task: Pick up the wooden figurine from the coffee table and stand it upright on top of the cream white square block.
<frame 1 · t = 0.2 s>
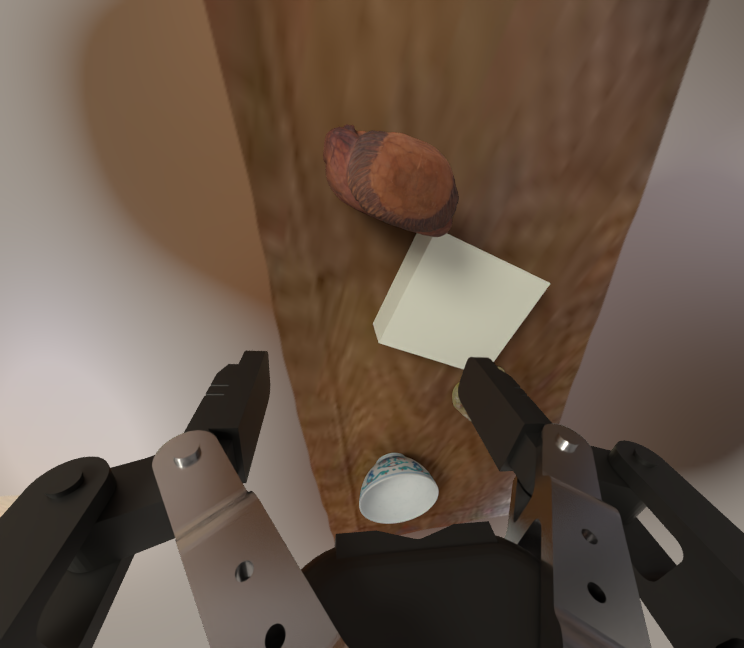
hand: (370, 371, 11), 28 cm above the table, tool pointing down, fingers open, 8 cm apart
wooden figurine: (372, 178, 34), on the table
chinaware: (391, 462, 59), on the table
cream white square block: (447, 296, 43), on the table
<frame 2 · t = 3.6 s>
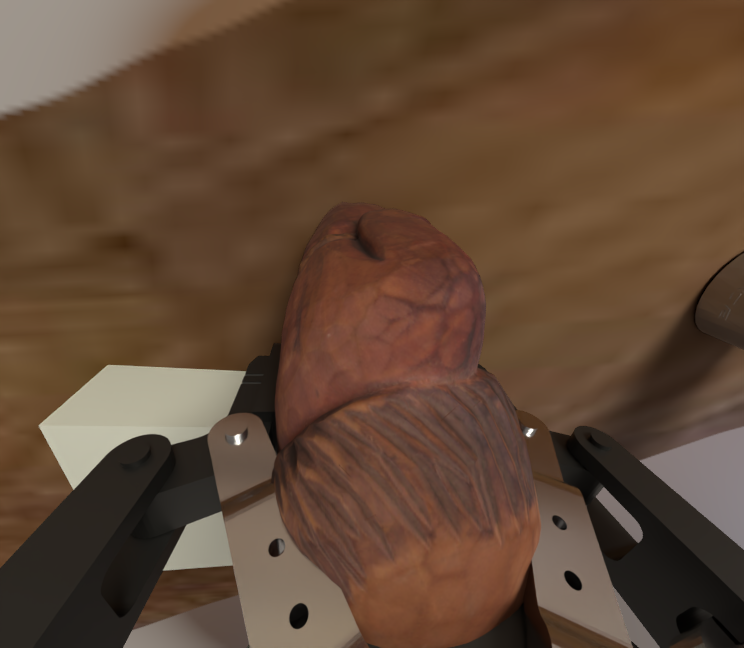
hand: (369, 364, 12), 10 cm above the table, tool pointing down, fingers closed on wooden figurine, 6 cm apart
wooden figurine: (353, 282, 20), on the table, touching gripper
cream white square block: (233, 443, 27), on the table
when the fingers open (16 cm above the table, at t = 12.9 s): wooden figurine stays where it is, resting on cream white square block.
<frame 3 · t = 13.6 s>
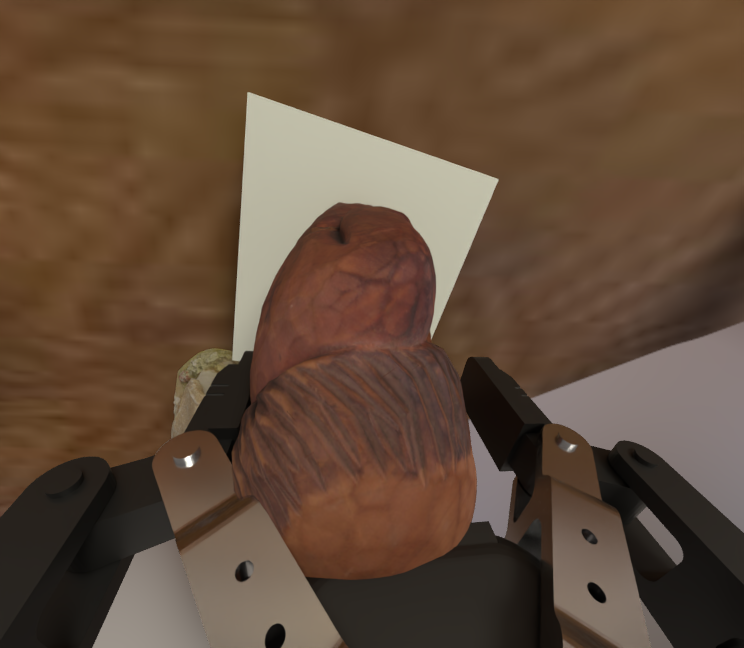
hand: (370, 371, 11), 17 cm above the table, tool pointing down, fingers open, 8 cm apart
wooden figurine: (350, 280, 21), point 5 cm above the table, touching cream white square block
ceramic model: (232, 394, 32), on the table
cream white square block: (348, 256, 26), on the table, touching wooden figurine
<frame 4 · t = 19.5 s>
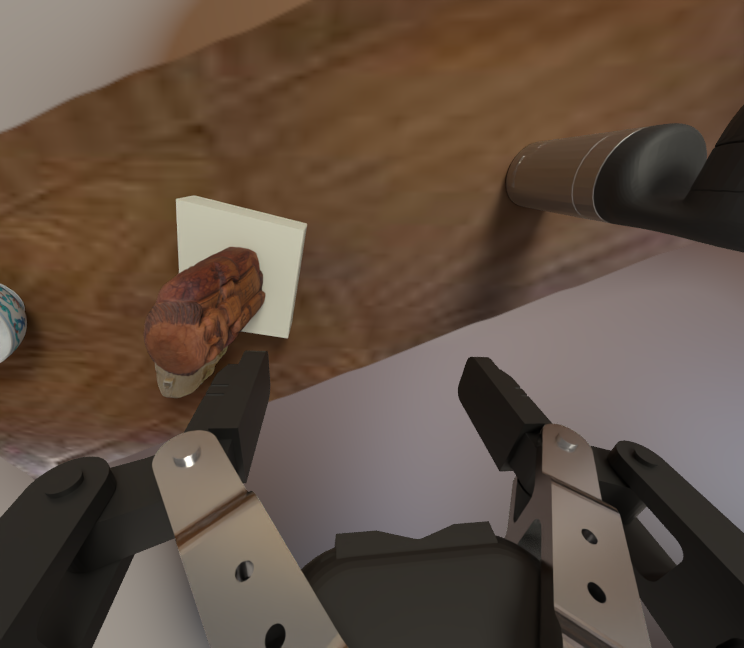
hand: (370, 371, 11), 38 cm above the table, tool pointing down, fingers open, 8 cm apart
wooden figurine: (244, 282, 41), point 6 cm above the table, touching cream white square block
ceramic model: (194, 349, 52), on the table
cream white square block: (250, 266, 46), on the table, touching wooden figurine
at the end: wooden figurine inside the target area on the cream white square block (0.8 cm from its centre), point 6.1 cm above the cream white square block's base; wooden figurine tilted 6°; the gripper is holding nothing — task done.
